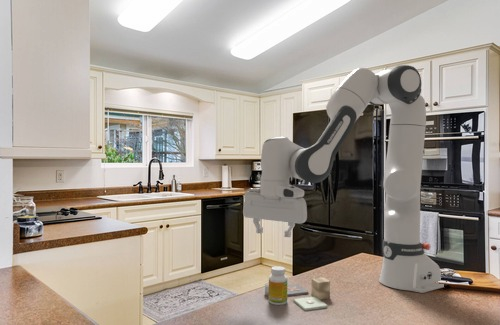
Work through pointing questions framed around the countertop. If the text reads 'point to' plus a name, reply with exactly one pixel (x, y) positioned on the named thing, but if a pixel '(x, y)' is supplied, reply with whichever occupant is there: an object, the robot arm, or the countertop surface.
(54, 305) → the countertop surface
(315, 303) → the pad
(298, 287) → the pad
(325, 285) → the block
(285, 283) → the supplement bottle
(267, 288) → the light grey dome
